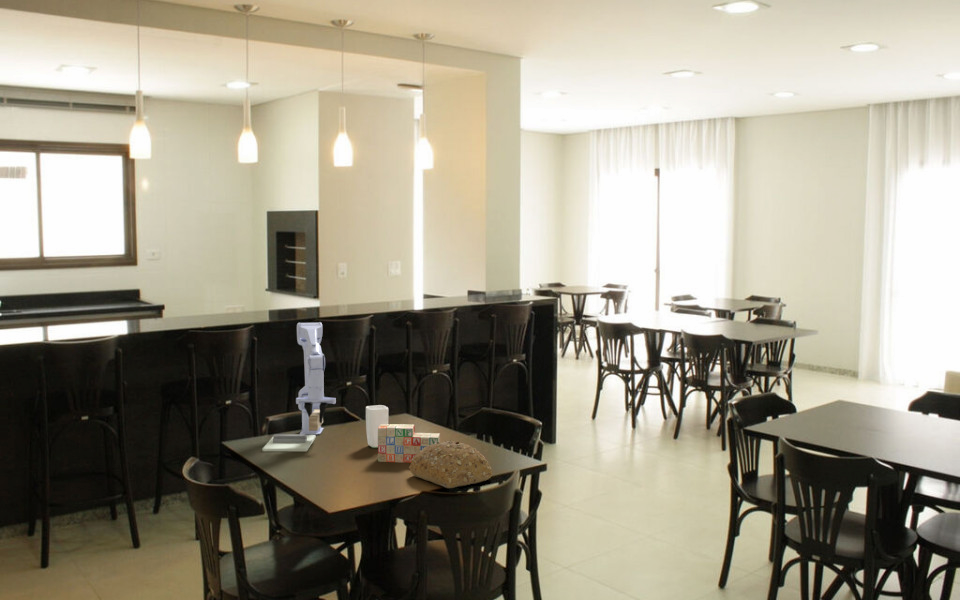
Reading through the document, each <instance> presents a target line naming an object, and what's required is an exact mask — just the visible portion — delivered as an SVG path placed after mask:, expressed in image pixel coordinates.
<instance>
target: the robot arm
mask: <svg viewBox="0 0 960 600" xmlns="http://www.w3.org/2000/svg"><path fill="white" fill-rule="evenodd" d="M322 337H323V324H322V322H321V321H319V322H298V323H297V324H296V340H297V341H296V342H297V344H298V345H299V346H301V347H302V350H303V364H304V386H303V387H302V388H301V389H300V390H299V391H298V397H296V398H295V404H296V405H298V406H297V407H298V410H299V411H301V423H302V424H301V425H302V426H301V431H300V432H299V434H306V435H321V433H322V432H323V430H324V427H322V425H321V426H320V427H319V429H318V430H317V431H309V417H310V415H311V414H312V413H313V411H314V410H315V409H320V423H322V420H323V421H324V414H325V411H326V409H327V406H328V404H333V405H335V404H336V402H337V400H336V399H337V398H336V397H328V396H325V393H324V391H325V390H324V388H325V387H324V386H325V385H324V384H325V383H324V377H325V375H324V372H325V368H326V357H325V354H324V353H323V351H322V347H321V345H320V344H321V342H322V339H323V338H322ZM322 424H323V423H322Z"/></svg>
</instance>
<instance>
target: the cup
mask: <svg viewBox="0 0 960 600" xmlns="http://www.w3.org/2000/svg"><path fill="white" fill-rule="evenodd" d="M381 424H389V407H388V406H386V405H382V404H378V405H377V404H376V405H367V406H365V429H366V431H365V432H366V438H367V444H368V446H369V447H371V448H372V449H378V427H379V426H380V425H381Z"/></svg>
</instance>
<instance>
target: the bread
mask: <svg viewBox="0 0 960 600" xmlns="http://www.w3.org/2000/svg"><path fill="white" fill-rule="evenodd" d="M408 469H410V473H411V474H412V475H413V476H414V477H416V478H419V479H422V480H424V481H426V482H429V483H433V484H435V485H438V486H441V487H443V488H445V489H454V488H457V487H463V486H469V485H473V484H478V483H482V482H485V481H488V480H489V479H491V477H492V476H493V469H492V467H491V463H489V461H488V460H487V459H486V458H485V456H484V455H483V454H482V453H481V452H480V450H477V448H475V447H472V446H470V445H469V444H467V443H464V442H459V441H453V440H445V441H440V443H439V442H438V443H437V444H436V443H435V444H433V445H429V446H427V447H425V448H424V449H423V450H421V451H419V453H418V454H416V455H415V457H414V458H412V461H411V462H410V465H409V467H408Z"/></svg>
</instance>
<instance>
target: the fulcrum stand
mask: <svg viewBox="0 0 960 600" xmlns="http://www.w3.org/2000/svg"><path fill="white" fill-rule="evenodd" d="M316 435H317V434H300V433H299V434H294V433H293V434H292V433H290V434H288V433H287V434H285V433H284V434H277V433H276V434H275V433H274V434H273V436H272V437H271V438H270V439H269V441H268V442H267V443H266V444H265V445H264V446H263V447H262V452H308V450H309V449H310V447H311V445H312V444H313V442H314V440H316Z"/></svg>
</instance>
